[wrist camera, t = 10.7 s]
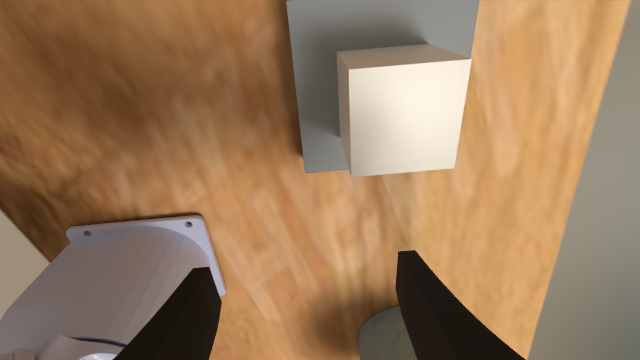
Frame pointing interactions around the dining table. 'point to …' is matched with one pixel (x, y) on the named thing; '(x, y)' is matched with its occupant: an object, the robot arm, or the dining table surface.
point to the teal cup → (385, 337)
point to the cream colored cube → (401, 108)
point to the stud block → (354, 34)
